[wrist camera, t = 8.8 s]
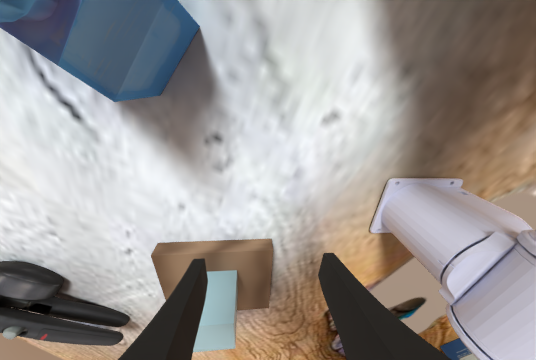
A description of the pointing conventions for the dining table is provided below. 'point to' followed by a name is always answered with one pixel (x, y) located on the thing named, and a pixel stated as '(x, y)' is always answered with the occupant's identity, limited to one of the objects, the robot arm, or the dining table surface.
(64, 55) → the perfume bottle
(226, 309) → the blue block
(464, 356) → the protein box
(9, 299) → the can opener
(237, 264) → the walnut block
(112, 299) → the dining table surface
